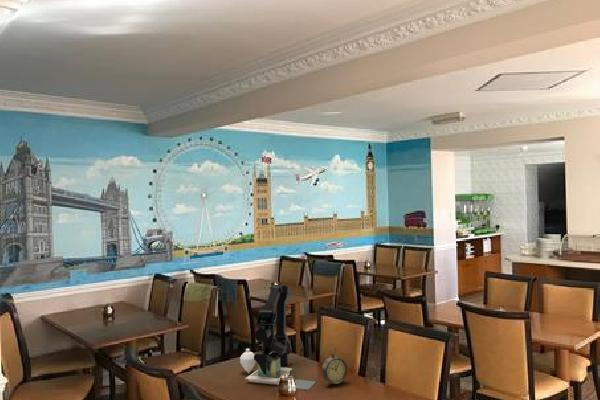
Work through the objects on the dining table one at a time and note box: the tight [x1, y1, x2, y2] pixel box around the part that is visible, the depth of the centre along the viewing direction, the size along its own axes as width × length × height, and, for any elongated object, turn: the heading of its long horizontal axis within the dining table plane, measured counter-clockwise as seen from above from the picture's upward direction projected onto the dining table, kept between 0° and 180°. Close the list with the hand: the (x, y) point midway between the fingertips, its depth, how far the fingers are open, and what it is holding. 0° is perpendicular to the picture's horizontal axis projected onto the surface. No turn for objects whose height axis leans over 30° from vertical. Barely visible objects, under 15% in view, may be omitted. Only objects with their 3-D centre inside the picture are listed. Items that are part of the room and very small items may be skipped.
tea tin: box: [257, 357, 282, 378], centre depth 225 cm, size 5×9×9 cm, turn 69°
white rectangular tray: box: [245, 366, 293, 386], centre depth 225 cm, size 18×15×3 cm
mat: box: [294, 379, 317, 392], centre depth 216 cm, size 10×10×1 cm
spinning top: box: [239, 348, 257, 374], centre depth 234 cm, size 8×8×12 cm
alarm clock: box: [321, 346, 348, 388], centre depth 216 cm, size 11×5×16 cm, turn 117°
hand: (269, 371), depth 225 cm, fingers open, 9 cm apart
